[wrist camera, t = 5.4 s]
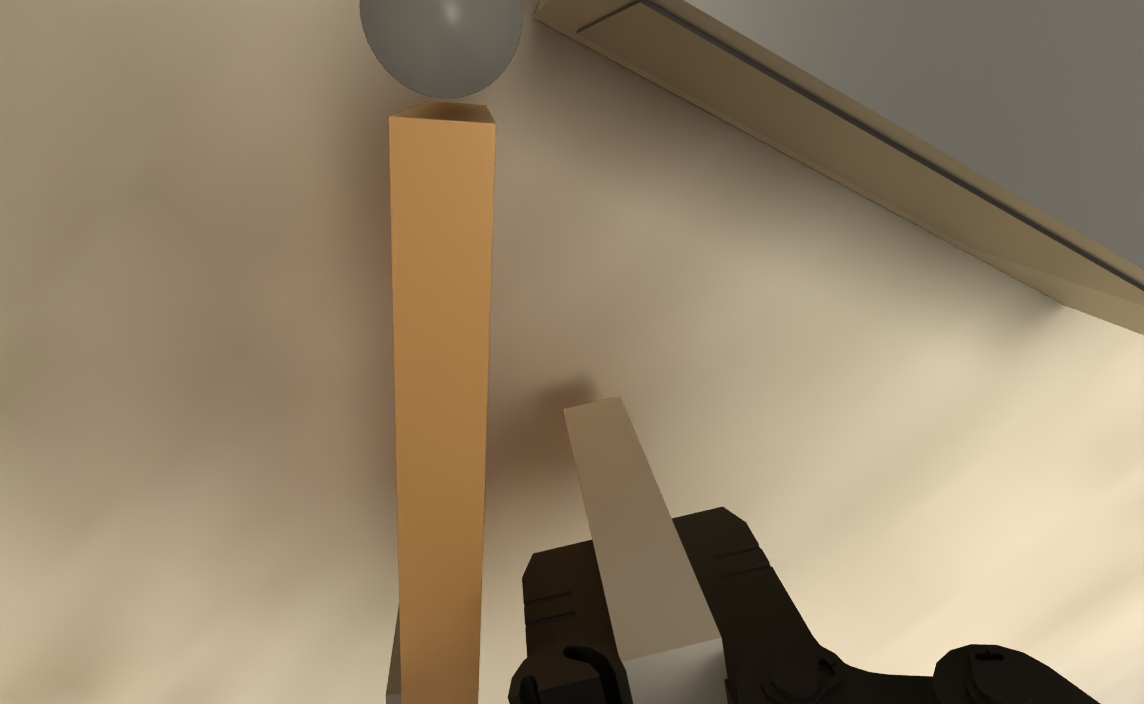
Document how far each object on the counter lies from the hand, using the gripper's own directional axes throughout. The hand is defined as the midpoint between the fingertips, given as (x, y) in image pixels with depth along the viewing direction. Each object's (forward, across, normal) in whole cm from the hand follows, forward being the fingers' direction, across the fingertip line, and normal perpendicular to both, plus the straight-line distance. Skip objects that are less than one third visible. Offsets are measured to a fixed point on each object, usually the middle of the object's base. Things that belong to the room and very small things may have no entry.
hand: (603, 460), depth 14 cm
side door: (+1, -3, +3) cm, 4 cm away
